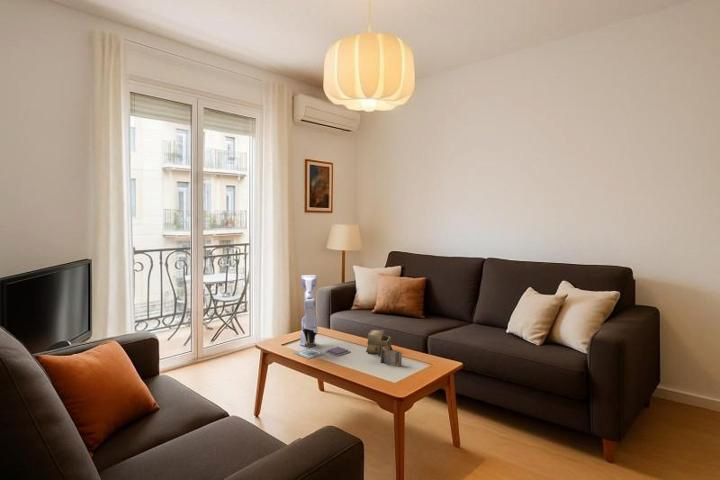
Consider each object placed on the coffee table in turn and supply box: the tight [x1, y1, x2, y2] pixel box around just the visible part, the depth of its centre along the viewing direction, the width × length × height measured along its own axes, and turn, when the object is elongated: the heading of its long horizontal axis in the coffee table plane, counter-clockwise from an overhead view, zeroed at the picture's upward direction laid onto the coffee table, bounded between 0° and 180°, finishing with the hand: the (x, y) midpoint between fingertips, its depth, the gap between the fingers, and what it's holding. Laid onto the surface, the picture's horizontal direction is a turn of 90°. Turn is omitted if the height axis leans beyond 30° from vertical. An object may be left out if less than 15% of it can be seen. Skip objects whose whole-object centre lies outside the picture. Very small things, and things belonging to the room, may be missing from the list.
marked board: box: [293, 347, 327, 360], centre depth 248 cm, size 14×13×1 cm
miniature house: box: [365, 329, 394, 357], centre depth 251 cm, size 15×14×11 cm
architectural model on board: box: [380, 347, 403, 367], centre depth 231 cm, size 11×3×10 cm, turn 59°
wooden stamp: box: [304, 335, 317, 349], centre depth 248 cm, size 5×5×8 cm
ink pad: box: [324, 346, 352, 357], centre depth 250 cm, size 11×11×1 cm
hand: (309, 342), depth 248 cm, fingers closed on wooden stamp, 3 cm apart
